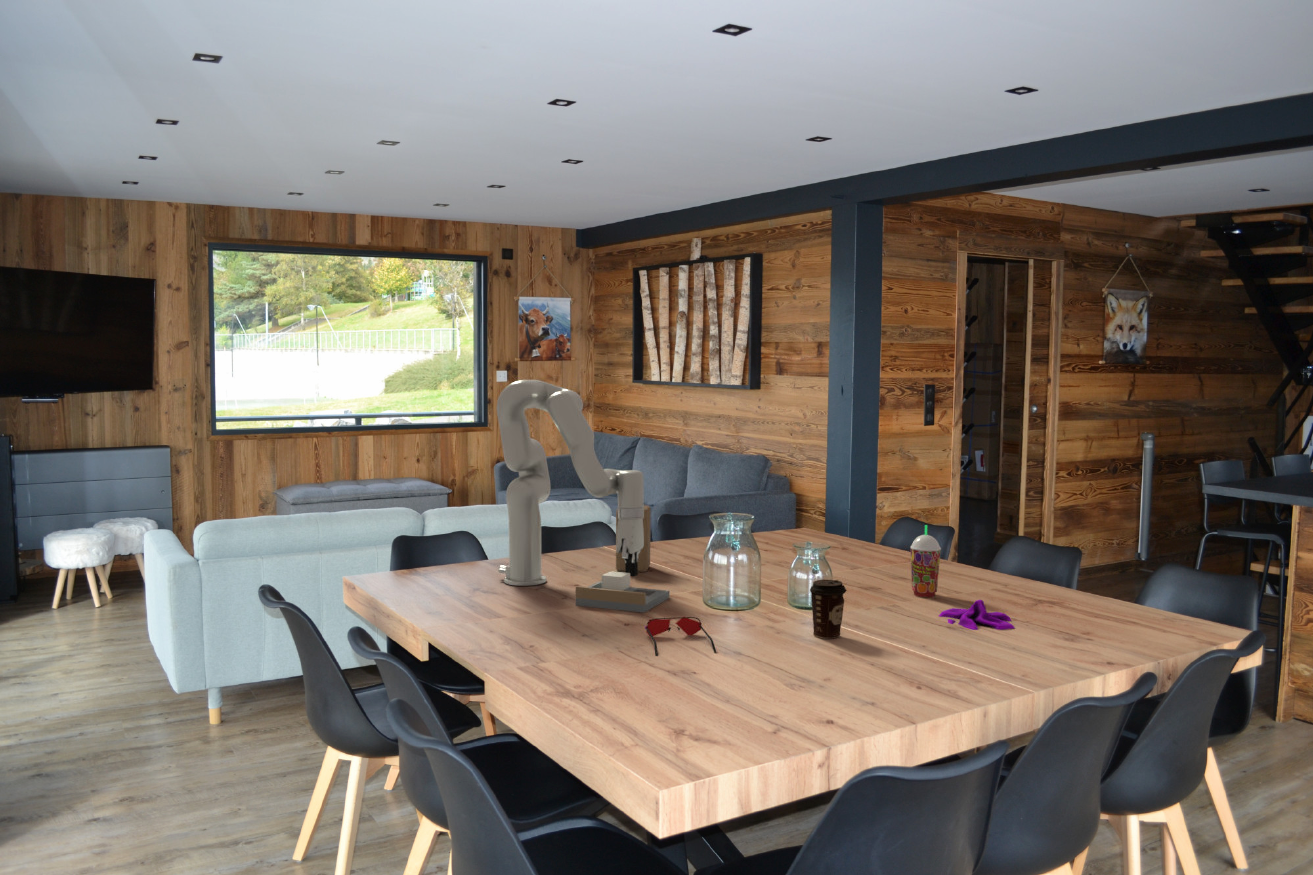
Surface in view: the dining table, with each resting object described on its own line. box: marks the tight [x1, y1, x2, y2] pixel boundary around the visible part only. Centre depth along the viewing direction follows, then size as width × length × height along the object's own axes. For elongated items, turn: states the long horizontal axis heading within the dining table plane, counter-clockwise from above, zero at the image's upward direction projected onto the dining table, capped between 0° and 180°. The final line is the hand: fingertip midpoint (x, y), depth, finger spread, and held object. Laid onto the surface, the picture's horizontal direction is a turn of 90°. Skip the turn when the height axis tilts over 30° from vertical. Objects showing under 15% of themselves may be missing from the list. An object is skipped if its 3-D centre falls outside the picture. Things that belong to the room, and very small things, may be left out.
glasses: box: [644, 616, 717, 657], centre depth 227 cm, size 14×16×5 cm
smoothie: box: [909, 524, 942, 598], centre depth 278 cm, size 8×8×20 cm
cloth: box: [938, 599, 1016, 631], centre depth 249 cm, size 22×19×6 cm
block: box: [615, 504, 652, 573], centre depth 312 cm, size 10×10×20 cm
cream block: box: [601, 570, 631, 591], centre depth 276 cm, size 6×6×4 cm
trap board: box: [575, 580, 670, 613], centre depth 269 cm, size 20×18×5 cm
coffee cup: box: [809, 578, 847, 640], centre depth 235 cm, size 9×8×13 cm
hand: (631, 575), depth 285 cm, fingers closed
